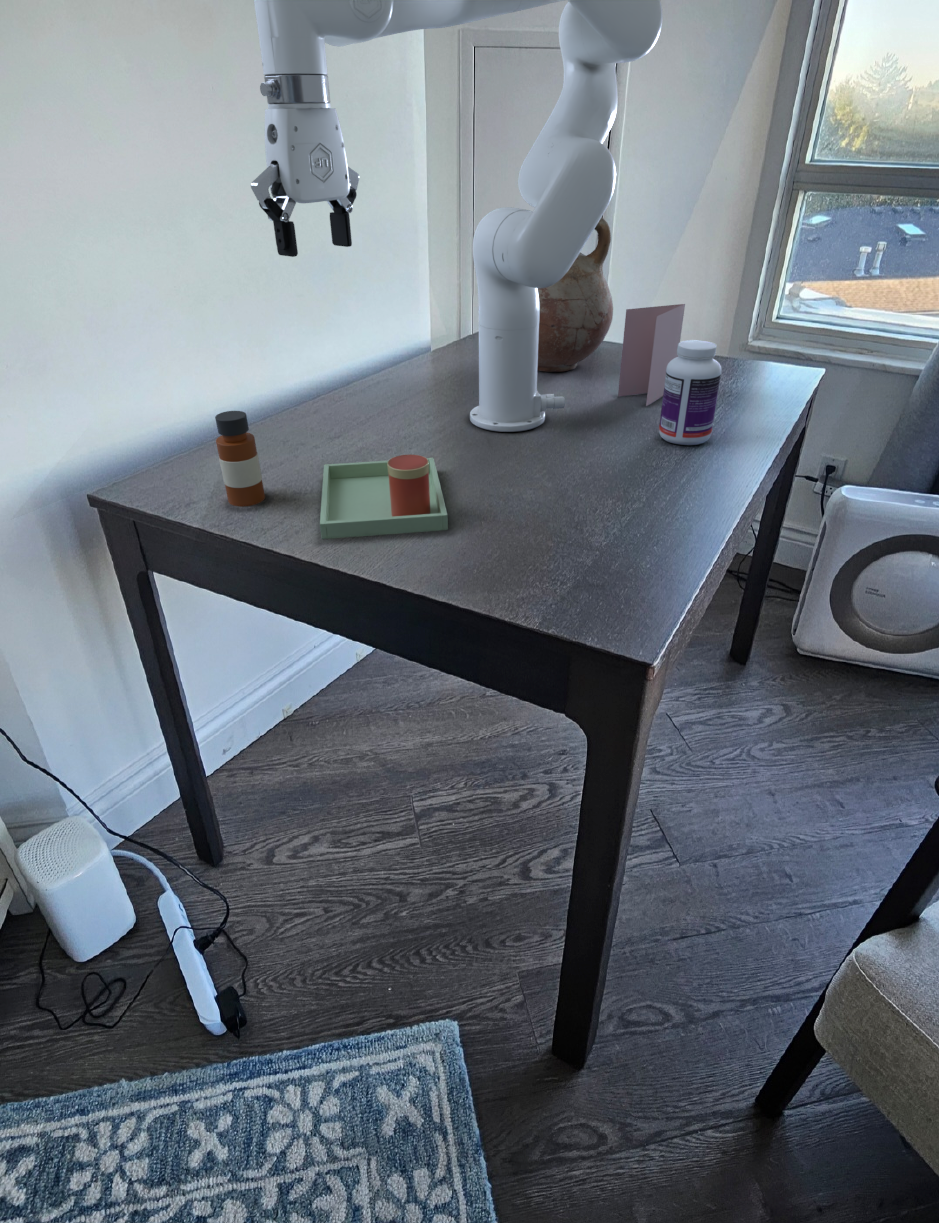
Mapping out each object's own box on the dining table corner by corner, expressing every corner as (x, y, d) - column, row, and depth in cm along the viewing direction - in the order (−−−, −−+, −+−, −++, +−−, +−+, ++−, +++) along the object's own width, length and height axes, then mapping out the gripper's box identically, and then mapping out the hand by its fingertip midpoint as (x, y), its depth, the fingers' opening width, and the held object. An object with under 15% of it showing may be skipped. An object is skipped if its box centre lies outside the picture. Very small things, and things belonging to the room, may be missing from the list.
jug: (501, 351, 163) (503, 192, 146) (601, 351, 162) (614, 191, 145) (501, 381, 145) (503, 205, 128) (614, 381, 144) (631, 203, 127)
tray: (434, 474, 108) (433, 457, 107) (448, 533, 93) (447, 514, 92) (326, 481, 107) (323, 464, 105) (322, 543, 92) (319, 523, 90)
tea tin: (429, 503, 99) (426, 452, 95) (432, 520, 95) (430, 468, 91) (390, 506, 99) (386, 455, 95) (392, 523, 94) (388, 471, 91)
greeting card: (670, 388, 140) (682, 302, 132) (692, 400, 134) (706, 311, 126) (615, 395, 137) (623, 308, 129) (635, 407, 131) (645, 317, 123)
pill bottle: (714, 433, 121) (730, 340, 113) (705, 450, 115) (721, 354, 107) (663, 426, 123) (676, 335, 115) (652, 443, 117) (664, 348, 109)
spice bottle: (267, 493, 104) (252, 407, 97) (264, 509, 100) (248, 421, 93) (231, 495, 103) (213, 410, 97) (226, 511, 99) (207, 423, 93)
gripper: (261, 93, 83) (284, 262, 93) (370, 94, 95) (381, 244, 104) (219, 94, 87) (245, 257, 97) (328, 95, 98) (342, 240, 108)
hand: (316, 250), depth 100 cm, fingers open, 9 cm apart
